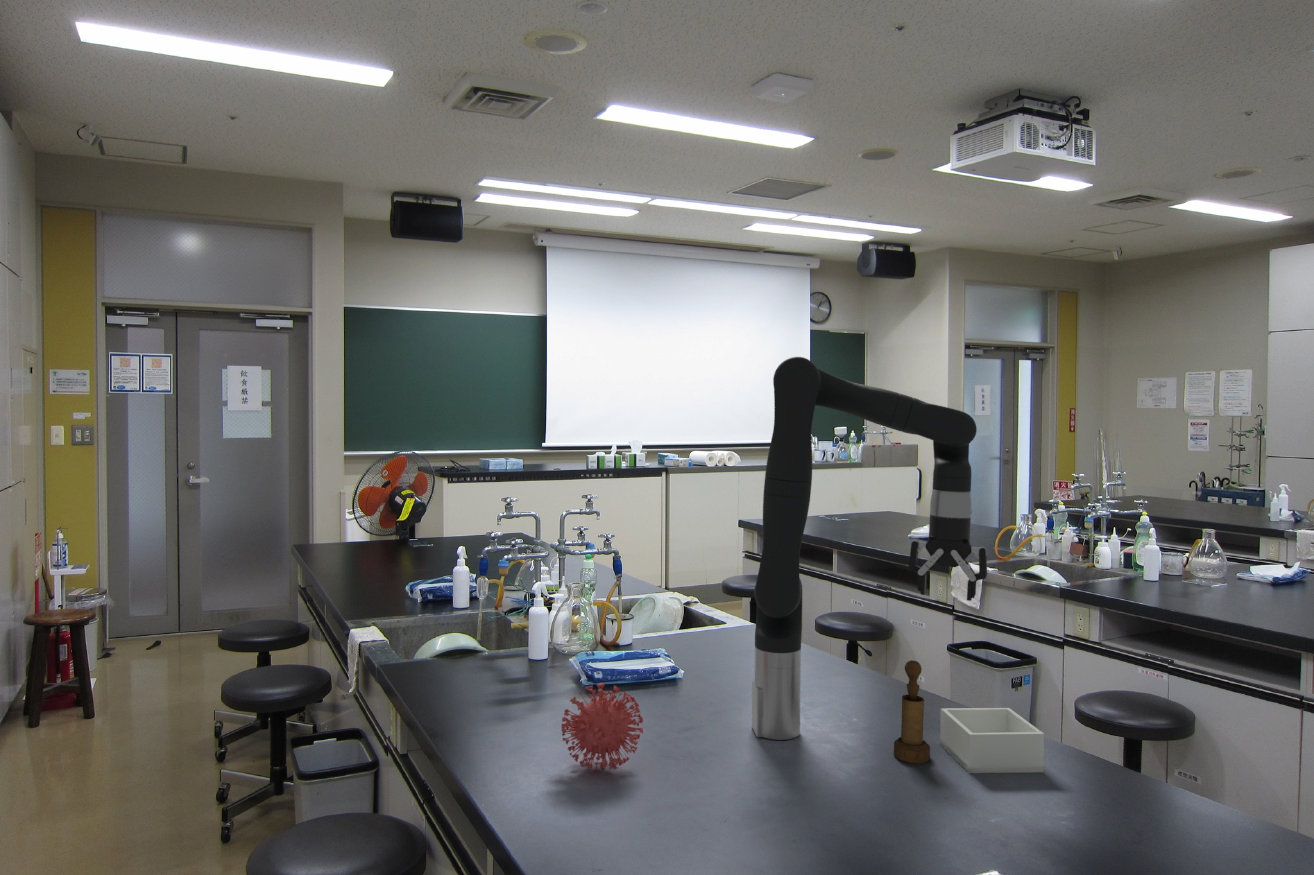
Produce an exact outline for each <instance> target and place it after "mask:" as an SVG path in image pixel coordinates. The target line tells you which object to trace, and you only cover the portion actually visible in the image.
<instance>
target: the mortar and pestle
mask: <svg viewBox="0 0 1314 875" xmlns="http://www.w3.org/2000/svg"><path fill="white" fill-rule="evenodd" d="M904 671H905V674H906V675H907V677H908V683H907V684H906V690H907V693H908V694H903V695H902V696H901V726H900V727H901V729H900V730H901V731H900V737H898V738H897V739H896V740H895V741H894V742H893V756H894V757H895V758H896V759H898V760H900V761H902V762H905V763H909V764H910V763H911V764H923V763H927V762H929V761H930V759H931V758H930V757H931V747H930V744H929V743H927V741H926V740H924V710H925V699H924V698H923V697H922V696H920V695H919V690H920V684H918V678H919V677H920V675H921V673H922V666H921V663H920V662H919V661H917V660H908V661H907V662H906V664H905V665H904Z"/></svg>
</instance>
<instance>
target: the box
mask: <svg viewBox="0 0 1314 875" xmlns="http://www.w3.org/2000/svg"><path fill="white" fill-rule="evenodd" d="M939 726H940V727H939V729H940V730H939V731H940V732H939V733H940V736H939V737H940V738H939V740H940V741H939V744H940V745H941V747H942V748H943V749H945V751H947V753H948V754H949V755H950V756H951V757H952V758H954V760H955V761H957V763H958V764H959V763H960V764H959V766H961V765H962V766H961V767H964V768H965V769H964V768H963V769H964V770H965V771H966V770H967V771H966V772H967V773H968V774H1013V773H1014V774H1015V773H1018V774H1020V773H1022V774H1023V773H1025V774H1026V773H1032V774H1033V773H1044V761H1045V760H1044V756H1045V755H1044V754H1045V733H1044V732H1042V731H1041V730H1040V729H1038V728H1037V727H1036V726H1034V725H1033V723H1032V724H1031V723H1030V722H1029V721H1028V720H1026V719H1025V718H1023V717H1022V716H1021V715H1019V714H1018V713H1016V712H1015V711H1014V710H1012V709H1011V708H1010V707H977V708H976V707H974V708H973V707H972V708H971V707H968V708H967V707H965V708H964V707H963V708H962V707H961V708H960V707H959V708H958V707H957V708H954V707H952V708H950V707H949V708H940V725H939Z"/></svg>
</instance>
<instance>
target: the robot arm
mask: <svg viewBox="0 0 1314 875" xmlns="http://www.w3.org/2000/svg"><path fill="white" fill-rule="evenodd" d="M772 379H773V381H772V382H773V384H772V385H773V390H774V391H773V398H774V399H773V401H774V403H773V404H774V418H773V419H774V420H773V422H774V423H773V430H772V435H771V441H770V444H769V448H768V454H767V458H766V459H767V460H766V467H765V474H764V484H763V485H764V486H763V499H762V500H763V502H762V503H763V504H762V551H761V555H760V556H761V557H760V562H759V568H758V573H757V578H756V582H755V585H754V590H753V591H754V592H753V594H754V601H755V602H756V614H755V615H756V616H755V617H756V620H755V630H754V680H752V687H751V689H752V690H751V691H752V692H751V696H752V698H751V699H752V700H751V727H752V729H753V732H754V734H755V736H756V738H764V739H769V740H776V741H777V740H778V741H783V740H790V739H792V740H793V739H795V738H797V737H799V736H800V733H801V686H802V684H801V682H802V680H801V679H802V678H801V677H802V675H801V674H802V671H801V669H802V668H801V666H802V634H803V633H802V632H803V630H802V629H803V583H802V580H801V578H800V556H801V548H802V547H801V546H802V541H803V537H804V532H805V529H806V525H807V519H808V514H809V509H810V508H809V507H810V502H811V494H812V493H811V492H812V481H813V446H812V444H813V442H812V429H813V428H812V427H813V421H814V420H813V418H814V415H815V409H816V406H817V407H822V408H828V409H833V410H835V411H840V412H843V413H846V414H849V415H851V416H854V417H857V418H860V419H862V420H865V421H868V422H870V423H874V424H875V425H879V426H882V427H885V428H888V429H891V430H894V431H897V432H902V433H906V434H908V435H909V434H910V435H917V436H920V437H923V438H925V439H928V440H931V441H932V444H933V445H932V446H933V459H934V463H933V464H934V465H933V473H932V474H933V475H932V491H931V496H930V503H929V504H930V505H929V507H930V508H929V523H928V525H929V527H928V539H927V541H920V540H918V539H914V540H913V541H911V543H910V553H909V561H908V562H909V563H908V570H909V571H910V572H913V573H915V574H917V591H918V592H920V595H923V596H924V595H926V593H927V578H928V575H927V572H928V570H930V568H931V567H933V565H935V564H936V565H938V566H939V567H946V566H948V567H949V568H950V567H951V568H958V567H959V568H960V569H961V570H962V571H963V573H964V574H965V575H966V577H967V578H968V581H967V588H966V590H967V594H966V601H970V602H971V601H972V599H974V598H975V596H976V594H977V593H976V592H977V582H978V581H980V580H985V579H986V578H987V576H988V550H987V547H986V546H984V545H983V546H981V547H980V546H972V545H971V542H970V541H971V540H970V538H971V522H972V521H971V520H972V519H971V518H972V517H971V516H972V511H973V510H972V494H971V492H972V489H971V487H972V467H971V463H970V461H969V456H970V444H971V443H972V441H974V439H975V437H976V436H977V430H978V428H977V425H976V424H977V423H976V422H975V419H974V418H973V417H972V415H969V414H968V413H967V412H964V411H962V410H960V409H955V408H951V407H947V406H943V405H938V404H935V403H929V402H925V401H923V400H921V399H919V398H916V397H912V396H909V395H908V394H907V395H906V394H902V393H899V392H897V391H893V390H889V389H885V388H880V387H876V386H871V385H866V384H862V383H861V384H860V383H857V382H854V381H849V380H846V379H843V378H841V377H838V376H835V375H833V374H831V373H828V372H826V371H825V370H822V369H821V368H818V367H817V366H816V364H815V363H814V362H813V361H811V360H810V359H808V358H806V357H803V356H792V357H789V358H787V359H784V360H783V361H782V362H781V363H780V364H779V365H778V366H777V368H776V369H775V371H774V373H773V378H772ZM923 549H926V551H927V553H928V554H929V556H930V558H928V559H927V561H925V563H924V564H923V565H922V566H920V565H918V561H919V560H918V559H919V553H922V551H923ZM971 554H974V557H975V558H976V559H978V562H979V563H978V570H979V571H978V572H975V571H974V569H973V568H972V566H971V564H970V563H969V561H968V560H967V559H968V557H969V556H970V555H971Z"/></svg>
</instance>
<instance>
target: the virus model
mask: <svg viewBox="0 0 1314 875" xmlns="http://www.w3.org/2000/svg"><path fill="white" fill-rule="evenodd" d="M596 686H597V688H598V689H593V688H594V685H588V686H586V687H585V690H587V691H588V692H589V694H587V695H586V696H587V697H588V698H589V699H590V702H587V701H586V699H585V697H584V696H583V695H582V692H581V691H580V692H578V694H579V695H580V696H581V698H582V699H583V701H581V702H580V701H579V700H577V698H576V696H574V697H573V698H571V699H570V700H569V702H571V704H572V705H576V706H577V711H580V712H579V714H577V713H575V712H572V710H571V711H570V710H569V709H567V708H565V709H564V711H563V715H564V716H563V717H562V718H561V722H562V723H561V726H560V727H561V735H562V741H563V742H565V744H566V745H568V744H569V742H571V745H570V746H568V747H567V751H568V752H569V756H571V757H572V758H573V760H574V761H575V762H576V763H578V764H580V766H584V765H585V766H587V769H593V770H595V771H596V770H598V771H599V768H598V763H596V765H595V766H593V761H594V760H595V759H596V761H600V760H601V761H602V762H601V763H600V765H599V767H600V768H601V769H605V768H606V767H607V765H608V767H609V768H617V766H618V767H621V766H622V765H624V764H625V763H626V762H628V761H629V760H630V757H628V756H627V755H626V754H628V753H630V754H631V753H633V754H636V751H637V750H638V747H637V745H638V743H639V742H638V740H640V737H641V734H644V728H643V727H640V724H643V723H644V717H643V716H642V715H641V714H640V713H641V711H640V705H639V703H638V701H636V699H635V698H634V696H633V695H630V693H626V692H625V691H624V692H622V691H621V687H618V686H617V685H613V686H614V687H613V688H612V689H613V691H612V690H603V688H604V686H606V683H605V682H600V683H598V684H596ZM596 690H597V691H598V692H597V691H596ZM596 692H597V696H596ZM591 693H592V694H591ZM617 694H618V697H617ZM608 695H609V696H608ZM621 695H622V698H620V696H621ZM597 697H598V698H597ZM619 698H620V699H619ZM584 703H585V704H586V705H585V704H584ZM629 703H630V706H629ZM632 703H633V704H632ZM627 704H628V705H627ZM628 706H629V707H628ZM569 716H570V718H568V717H569ZM636 717H637V719H636ZM632 725H633V726H634V727H633V726H632ZM636 726H637V727H636ZM632 732H634V733H632ZM636 732H637V733H636ZM568 734H570V736H568V737H564V736H565V735H568ZM575 740H576V741H575ZM621 747H622V748H621ZM622 749H623V750H624V751H625V752H626V754H625V752H624V751H623V750H622ZM584 750H585V751H584ZM620 750H621V751H622V752H623V754H624V756H626V757H623V755H622V753H621V751H620ZM571 751H572V752H571ZM583 751H584V752H583ZM574 752H575V753H574ZM572 753H574V754H573V755H572ZM580 755H583V757H582V759H581V760H580V761H579V762H578V759H579V757H580ZM607 756H608V757H607ZM615 756H616V757H615ZM621 757H622V758H621ZM607 758H608V760H607ZM608 761H609V762H608Z"/></svg>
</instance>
